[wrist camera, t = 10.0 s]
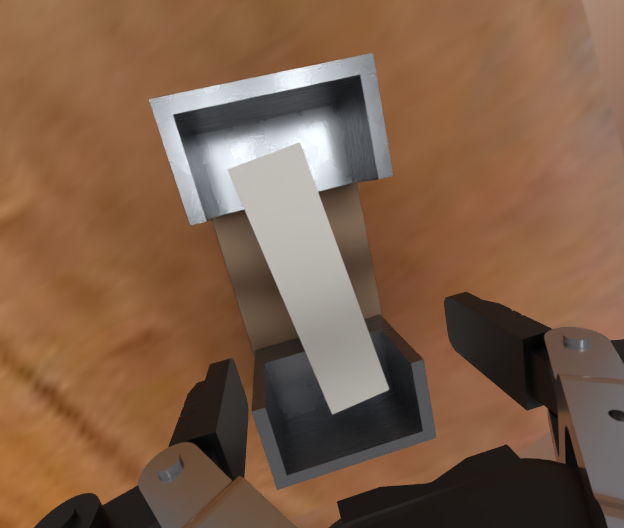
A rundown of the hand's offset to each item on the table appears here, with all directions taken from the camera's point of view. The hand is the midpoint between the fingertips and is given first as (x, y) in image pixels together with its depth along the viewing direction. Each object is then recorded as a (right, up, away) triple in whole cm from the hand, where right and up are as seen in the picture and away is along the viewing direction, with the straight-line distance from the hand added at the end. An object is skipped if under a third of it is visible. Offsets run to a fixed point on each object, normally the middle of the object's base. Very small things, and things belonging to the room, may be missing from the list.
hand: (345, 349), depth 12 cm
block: (-2, +2, +11) cm, 11 cm away
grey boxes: (-2, +3, +13) cm, 14 cm away
